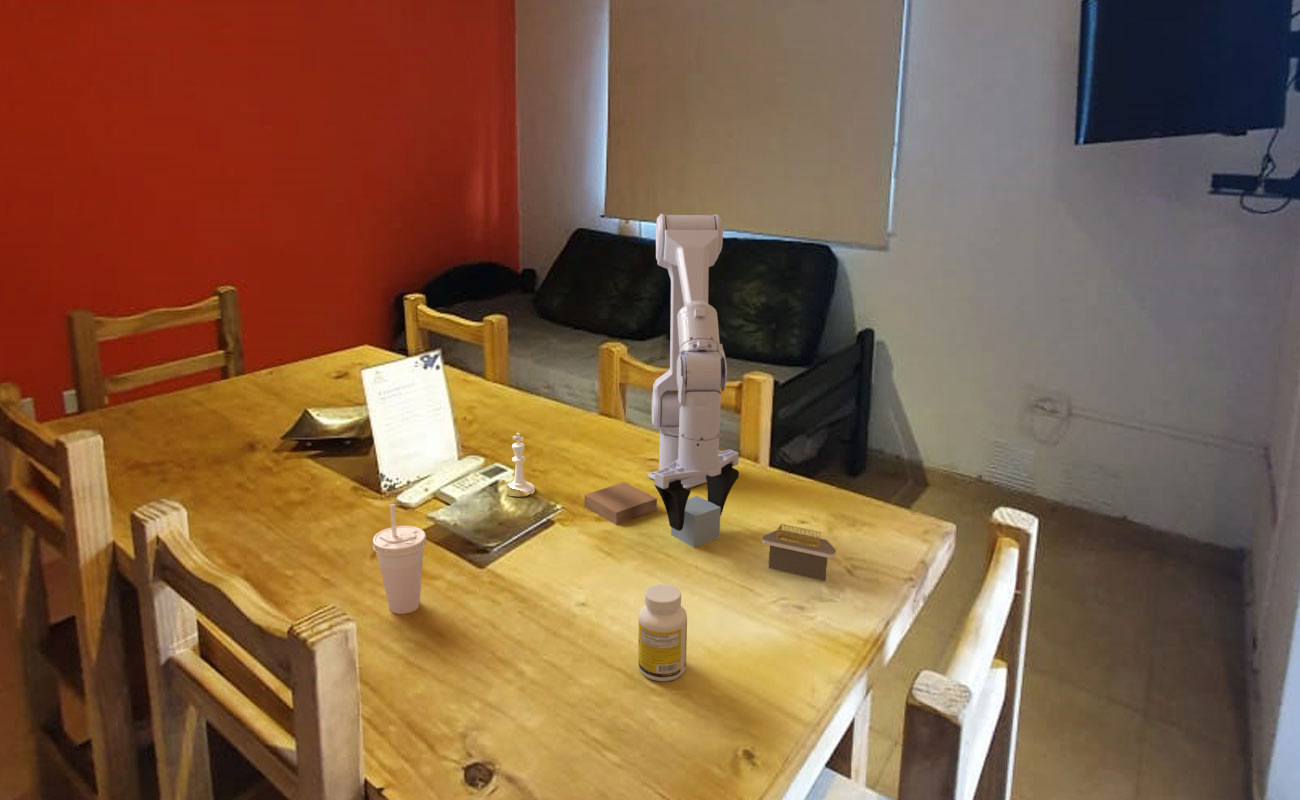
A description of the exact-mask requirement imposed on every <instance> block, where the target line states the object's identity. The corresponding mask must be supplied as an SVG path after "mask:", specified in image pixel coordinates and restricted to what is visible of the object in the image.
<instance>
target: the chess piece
mask: <svg viewBox="0 0 1300 800" xmlns="http://www.w3.org/2000/svg"><path fill="white" fill-rule="evenodd" d="M512 440H513V441H515V442H514V443H512V445H511V448H512V451H513V454H514V456H513V457H512V458H511V461H512V462H514V463H515V467H514V469H515V470H514V478H513V480H512V481H511V482H509V483H507V484H506V485H508V486H509V487H510V488H512V489H516V490H520V491H523V492H526V493H531V494H532V495H533V494H534V493H535V492H536V489H535V485H534V484H533V483H532V482H530V481H529V482H528V481H527V480H526V479H525V475H524V468H523V462H525V461H526V457H525V456H523V453H524V450H525V443H523V441H524V440H525V439H524V436H521V434H520V433H519V432H516V434H515V435H512ZM521 441H522V442H521Z"/></svg>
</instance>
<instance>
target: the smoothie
mask: <svg viewBox="0 0 1300 800" xmlns="http://www.w3.org/2000/svg"><path fill="white" fill-rule="evenodd" d="M395 505H396V504H395V503H390V504H389V510H390V524H391V527H388V528H385V529H381V530H380V531H379V532H377V533H376V534H375V535H374V536H373V539H372V549H373V551H374V552H376V556H377V560H378V561H377V562H378V564H379V569H380V573H381V576H382V577H381V578H382V582H383V587H384V591H385V594H386V600H387V604H388V609H389V611H390V612H392V613H393V614H396V615H406V614H410V613H414V612H415V611H416V610H417V609H419V607H420V605H421V592H422V576H423V575H422V574H423V564H424V563H423V561H424V560H423V559H424V547H425V546H426V545H427V543H428V542H427V540H428V539H427V536H426V532H425V531H424V530H423V529H421V528H419V527H417V526H412V525H398V526H397V519H396V518H397V517H396V506H395Z"/></svg>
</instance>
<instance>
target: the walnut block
mask: <svg viewBox="0 0 1300 800" xmlns="http://www.w3.org/2000/svg"><path fill="white" fill-rule="evenodd" d="M583 499H584V508H585V509H588V510H589V511H591V512H593V513H595V514H597V516H600V517H602V518H603V519H605V520H607V521H609V522H610V523H611V524H613V525H615V526H617V525H621V524H623V523H626V522H629V521H631V520H634V519H638V518H640V517H643V516H645V515H649V514H651V513H655V512H657V510H658V509H657V505H658V498H657V497H655V496H653V495H651V494H649V493H647V492H645V491H643V490H641V489H640V488H637V487H635V486H633V485H631V484H629V483H627V482H625V481H624V482H620V483H618V484H614V485H612V486H608V487H604V488H602V489H598V490H596V491H592V492H589V493H587V494H584V498H583Z"/></svg>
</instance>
